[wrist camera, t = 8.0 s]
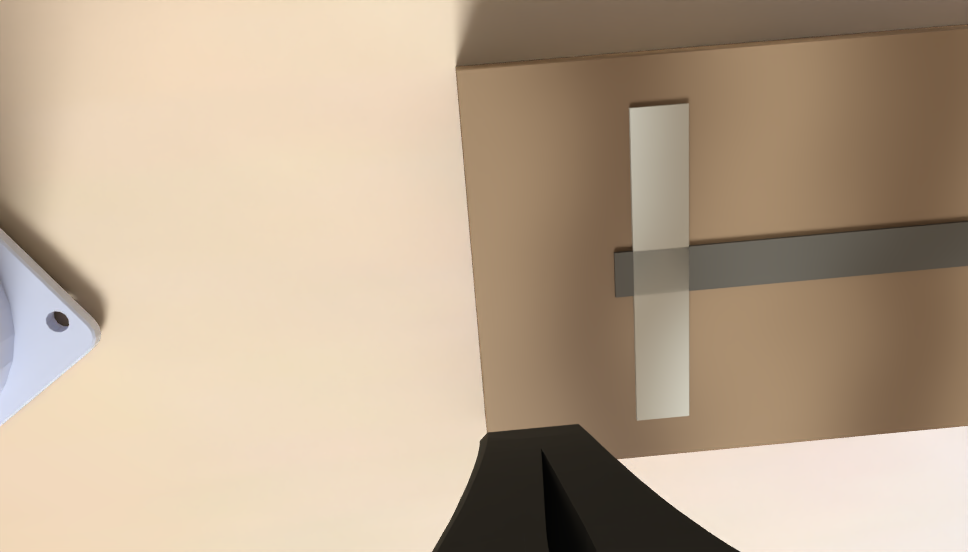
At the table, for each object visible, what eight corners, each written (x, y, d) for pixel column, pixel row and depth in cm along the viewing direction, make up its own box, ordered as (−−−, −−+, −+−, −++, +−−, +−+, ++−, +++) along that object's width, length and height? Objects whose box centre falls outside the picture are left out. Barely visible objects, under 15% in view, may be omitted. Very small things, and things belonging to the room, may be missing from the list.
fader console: (485, 420, 21) (491, 473, 18) (455, 66, 18) (457, 71, 15) (1155, 358, 21) (1250, 400, 19) (1221, 3, 18) (1344, -3, 16)
